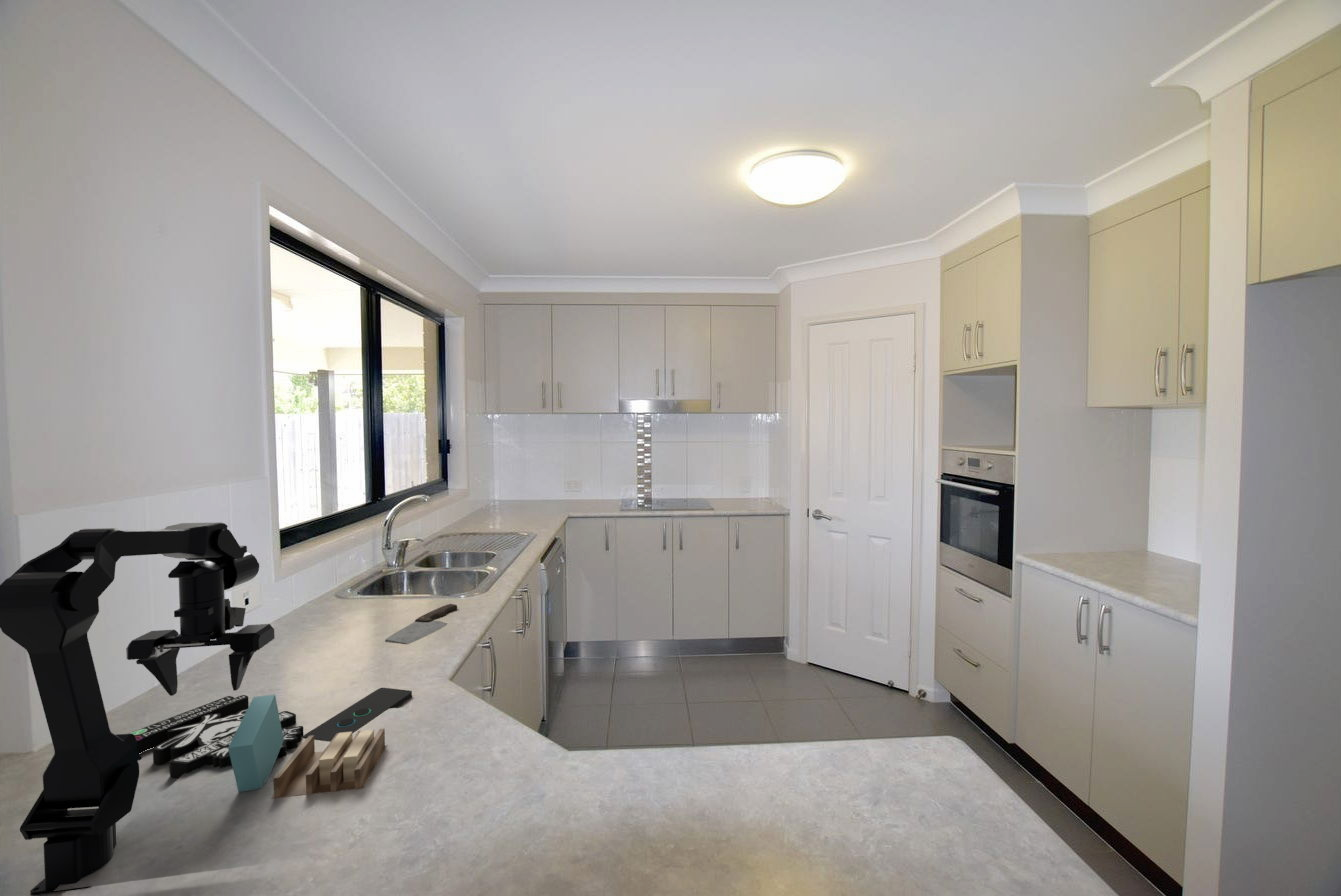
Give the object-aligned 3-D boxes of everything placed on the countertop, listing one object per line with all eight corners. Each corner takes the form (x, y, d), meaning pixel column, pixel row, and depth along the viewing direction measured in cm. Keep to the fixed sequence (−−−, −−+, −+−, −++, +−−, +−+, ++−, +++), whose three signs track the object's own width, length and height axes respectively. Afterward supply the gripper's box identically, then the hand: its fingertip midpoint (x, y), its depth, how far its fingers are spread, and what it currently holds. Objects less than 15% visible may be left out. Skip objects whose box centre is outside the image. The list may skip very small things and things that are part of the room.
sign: (236, 692, 116) (331, 724, 103) (237, 706, 116) (331, 740, 103) (114, 738, 98) (209, 783, 86) (114, 755, 98) (210, 803, 86)
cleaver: (442, 609, 178) (442, 602, 178) (471, 610, 177) (471, 604, 177) (381, 645, 149) (380, 637, 149) (415, 647, 148) (414, 639, 147)
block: (262, 792, 87) (251, 744, 84) (239, 796, 86) (228, 747, 83) (283, 740, 96) (275, 694, 93) (263, 743, 95) (253, 697, 92)
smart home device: (300, 735, 101) (380, 686, 121) (300, 745, 101) (380, 694, 121) (339, 741, 100) (414, 690, 119) (339, 751, 100) (414, 698, 119)
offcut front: (357, 781, 89) (356, 756, 88) (343, 782, 88) (342, 757, 88) (374, 752, 96) (373, 729, 96) (361, 753, 96) (361, 730, 96)
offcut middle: (333, 783, 88) (333, 758, 88) (319, 785, 88) (319, 759, 87) (352, 754, 96) (352, 731, 96) (339, 755, 95) (339, 732, 95)
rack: (363, 794, 87) (362, 768, 87) (271, 804, 85) (270, 778, 84) (387, 750, 99) (387, 728, 99) (307, 758, 96) (306, 735, 96)
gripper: (288, 582, 102) (290, 667, 103) (171, 588, 99) (173, 676, 99) (255, 600, 91) (258, 695, 92) (122, 608, 88) (125, 706, 88)
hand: (205, 692), depth 93 cm, fingers open, 9 cm apart
